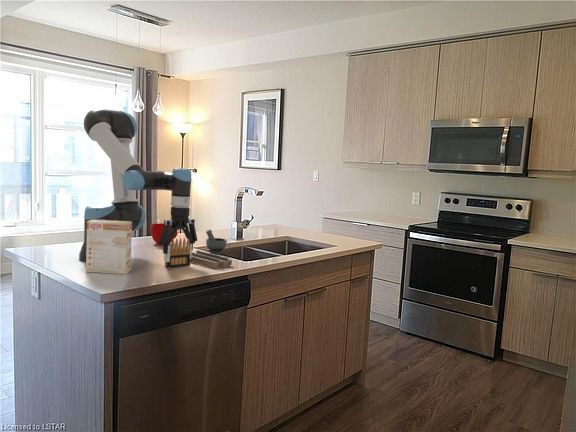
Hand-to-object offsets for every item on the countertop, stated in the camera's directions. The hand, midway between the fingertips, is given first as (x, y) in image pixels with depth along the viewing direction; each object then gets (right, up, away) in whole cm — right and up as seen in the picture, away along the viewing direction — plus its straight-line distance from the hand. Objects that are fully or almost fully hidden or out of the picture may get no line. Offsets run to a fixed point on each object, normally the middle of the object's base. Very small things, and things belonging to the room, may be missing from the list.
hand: (177, 259), depth 191 cm
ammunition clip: (0, -3, 0) cm, 3 cm away
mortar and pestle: (+10, 0, +35) cm, 36 cm away
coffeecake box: (-23, -3, -13) cm, 27 cm away
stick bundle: (+10, -3, +13) cm, 16 cm away
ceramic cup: (-18, +3, +49) cm, 52 cm away
